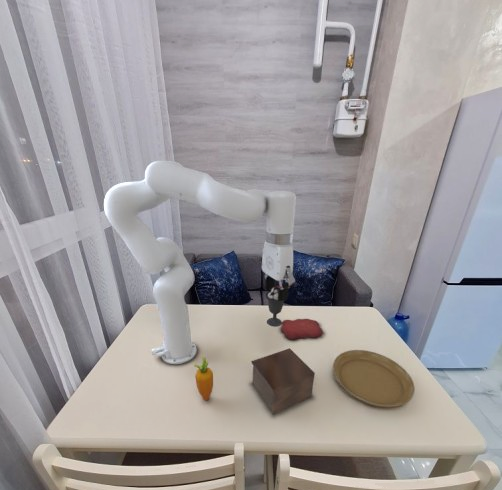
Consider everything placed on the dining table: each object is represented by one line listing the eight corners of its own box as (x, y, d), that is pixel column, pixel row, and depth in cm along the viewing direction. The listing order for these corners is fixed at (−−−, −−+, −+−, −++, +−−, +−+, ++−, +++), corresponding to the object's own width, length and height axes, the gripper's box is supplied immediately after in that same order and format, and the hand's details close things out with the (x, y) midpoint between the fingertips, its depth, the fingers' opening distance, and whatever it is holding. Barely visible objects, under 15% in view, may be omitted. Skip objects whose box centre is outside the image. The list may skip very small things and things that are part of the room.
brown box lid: (272, 392, 70) (273, 390, 70) (251, 363, 80) (251, 361, 80) (314, 375, 76) (315, 372, 76) (289, 349, 86) (289, 348, 86)
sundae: (284, 329, 82) (288, 287, 75) (262, 327, 83) (265, 285, 76) (285, 318, 88) (289, 277, 81) (265, 315, 89) (267, 275, 82)
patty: (285, 341, 105) (285, 337, 104) (277, 322, 117) (277, 318, 116) (327, 337, 107) (327, 333, 106) (314, 319, 119) (315, 315, 119)
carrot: (207, 409, 75) (203, 369, 69) (194, 402, 78) (189, 362, 71) (218, 398, 79) (215, 358, 73) (205, 391, 81) (202, 352, 75)
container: (273, 414, 74) (274, 391, 70) (252, 384, 84) (252, 362, 80) (311, 397, 80) (314, 375, 76) (287, 370, 90) (289, 350, 86)
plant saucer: (431, 407, 77) (434, 399, 75) (354, 418, 73) (357, 410, 72) (381, 353, 98) (383, 346, 97) (320, 360, 95) (321, 353, 93)
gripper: (252, 232, 78) (251, 286, 86) (286, 247, 65) (282, 310, 72) (273, 230, 82) (270, 282, 89) (310, 244, 68) (303, 304, 76)
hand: (275, 294), depth 81 cm, fingers closed on sundae, 6 cm apart
